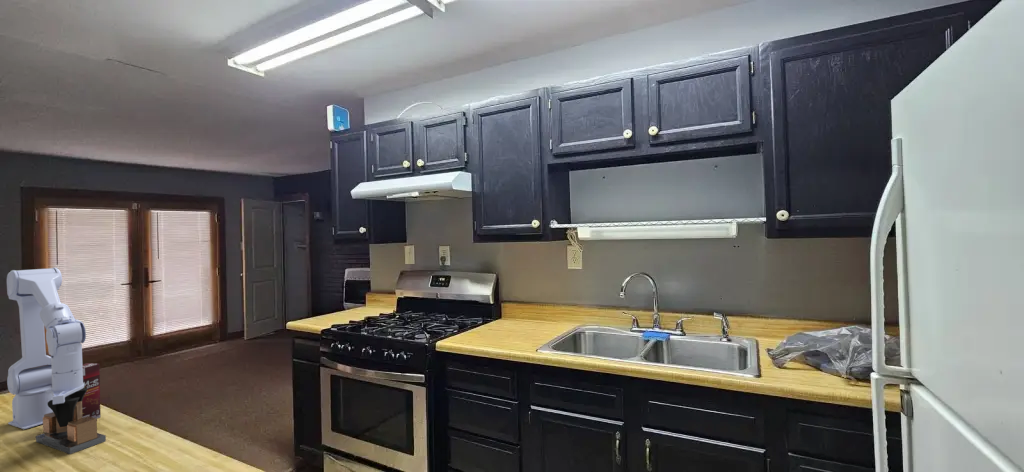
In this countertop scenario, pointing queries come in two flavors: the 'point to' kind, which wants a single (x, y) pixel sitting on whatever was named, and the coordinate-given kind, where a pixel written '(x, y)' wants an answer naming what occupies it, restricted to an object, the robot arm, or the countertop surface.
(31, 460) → the countertop surface
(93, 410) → the supplement box
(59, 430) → the brown wooden block
